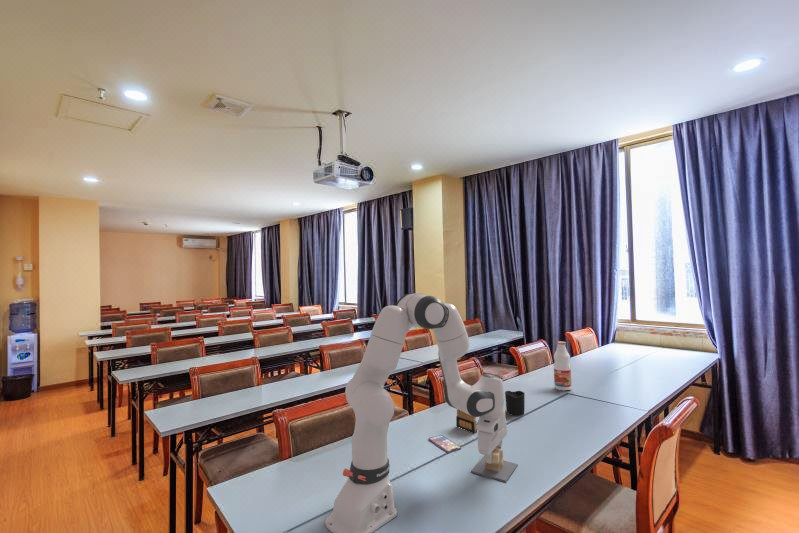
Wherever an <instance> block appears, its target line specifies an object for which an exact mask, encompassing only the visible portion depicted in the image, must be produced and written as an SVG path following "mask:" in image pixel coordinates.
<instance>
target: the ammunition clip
mask: <svg viewBox="0 0 799 533" xmlns="http://www.w3.org/2000/svg"><path fill="white" fill-rule="evenodd" d="M455 418H456V420H455V421H456V422H455V423H456V426H457V427H456V428H458V427H460V428H459V429H461V428H462V429H461V430H463V429H465V430H464V431H466V430H467V431H466V432H469V431H470V432H469V433H471V432H472V433H471V434H474V433H475V434H476V432H477V433H478V430H476V424H477V420H476V418H477V417H473V416H471V415H469V414H467V413H464V412H462V411H461V410H459V409H456V417H455Z"/></svg>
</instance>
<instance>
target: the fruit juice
mask: <svg viewBox="0 0 799 533" xmlns="http://www.w3.org/2000/svg"><path fill="white" fill-rule="evenodd" d="M556 345H557V346H556V350H555V352H554V354H553V359H554V363H553V382H554V384H553V386H554V389H555V388H556V389H555V390H557V389H559V390H558V391H560V390H570V391H571V390H572V389H573V388H572V366H571V362H570V361H571V356H570V353H569V352H568V349H567V348H566V347H567V346H566V345H567V343H566V341H561V340H560V341H557V342H556Z"/></svg>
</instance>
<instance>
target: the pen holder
mask: <svg viewBox="0 0 799 533" xmlns="http://www.w3.org/2000/svg"><path fill="white" fill-rule="evenodd" d="M504 396H505V408H506V409H505V411H506V413H507V414H508V413H509V414H508V415H510V414H512V415H511V416H515V415H520V416H523V415H524V414H525V402H526V401H525V397H526V396H525V392H524V391H522V390H517V391H511V390H506V391H504ZM522 414H523V415H522Z"/></svg>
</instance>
